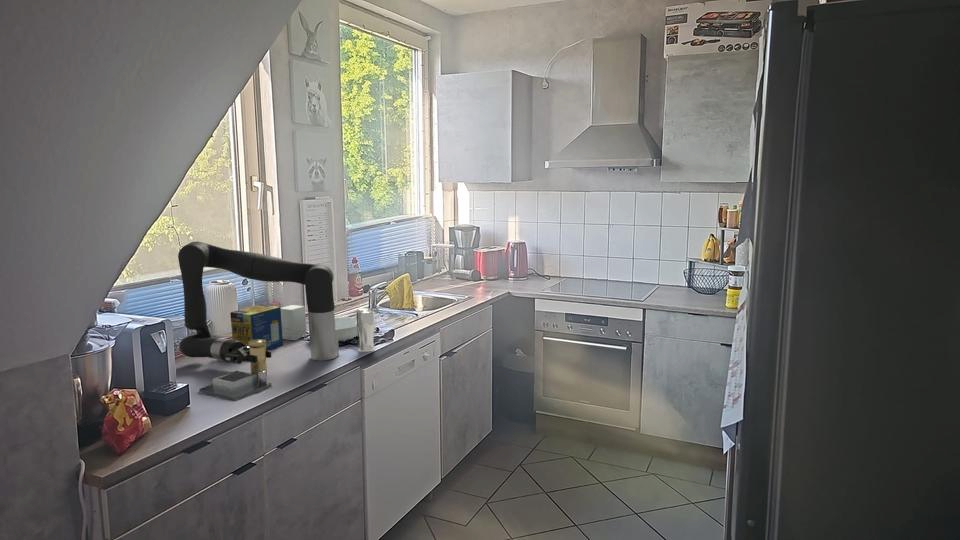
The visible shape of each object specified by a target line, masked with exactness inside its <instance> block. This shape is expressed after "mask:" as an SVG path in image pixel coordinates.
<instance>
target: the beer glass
mask: <svg viewBox="0 0 960 540" xmlns="http://www.w3.org/2000/svg"><path fill="white" fill-rule="evenodd" d="M374 311H375V310H374V309H371V308H360V309H357V310H355V318H356V329H357V334H358V336H357V337H358V349H357V350H358V352H360V353H371V352H374V351H375V350H376V348H375V344H374V336H375V335H374V334H375V325H376V320H375V312H374Z"/></svg>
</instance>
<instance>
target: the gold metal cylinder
mask: <svg viewBox="0 0 960 540" xmlns="http://www.w3.org/2000/svg"><path fill="white" fill-rule="evenodd" d="M265 346H266V340H264V339H255V340H251V341H249V342H248V347H249V351H250V355H254V356H257V362H256V363H252V362H249V363H250V364H249V365H250V374H255V375H257V380H259V377H258V371H261V370H266V375H267V376H268V365H267V358H266V347H265Z"/></svg>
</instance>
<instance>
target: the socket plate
mask: <svg viewBox="0 0 960 540" xmlns="http://www.w3.org/2000/svg"><path fill="white" fill-rule="evenodd" d="M258 377H259V379H257V375H255V374H251V372H250V373H249V372H244V371H239V370H235V371H231V372H229V373H226V374H224V375H221V376H218V377H214V378H212V384H210V385H207V386H204V387H201V388H198V393H200V392H202V393H201V394H204V393H205V395H208V394H209V396H213V397H217V396H218V397H217V398H222V399H226V400H229V401H234V402H235V401H238V400H241V399H243V398H246V397H248V396H252V395H253V394H257V393H258V392H261V391H264V390H266V389H269V388H271V387H272V382H268V374H267V375H266V370H261V371H258Z"/></svg>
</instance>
